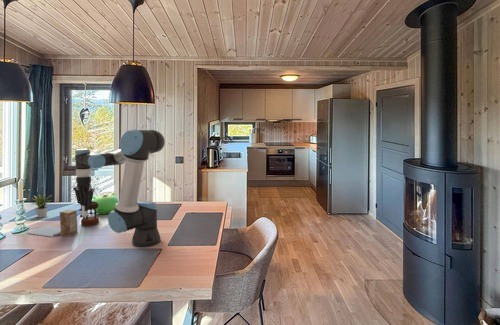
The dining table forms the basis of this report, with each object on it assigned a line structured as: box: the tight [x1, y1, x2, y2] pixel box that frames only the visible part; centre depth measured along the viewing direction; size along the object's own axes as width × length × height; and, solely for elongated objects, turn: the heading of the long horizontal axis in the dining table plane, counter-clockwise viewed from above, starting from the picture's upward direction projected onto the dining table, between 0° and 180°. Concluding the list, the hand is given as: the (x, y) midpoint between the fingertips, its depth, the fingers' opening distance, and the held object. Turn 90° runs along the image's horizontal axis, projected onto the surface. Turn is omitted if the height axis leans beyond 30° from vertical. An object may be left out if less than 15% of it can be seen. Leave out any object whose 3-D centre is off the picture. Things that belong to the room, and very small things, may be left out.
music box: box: [78, 201, 104, 227], centre depth 201 cm, size 15×11×20 cm
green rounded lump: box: [92, 191, 119, 215], centre depth 225 cm, size 18×17×15 cm
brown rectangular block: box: [59, 209, 78, 237], centre depth 181 cm, size 6×6×14 cm
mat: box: [26, 225, 62, 238], centre depth 186 cm, size 20×14×1 cm
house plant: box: [31, 193, 53, 218], centre depth 213 cm, size 14×14×16 cm
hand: (85, 215), depth 178 cm, fingers closed
